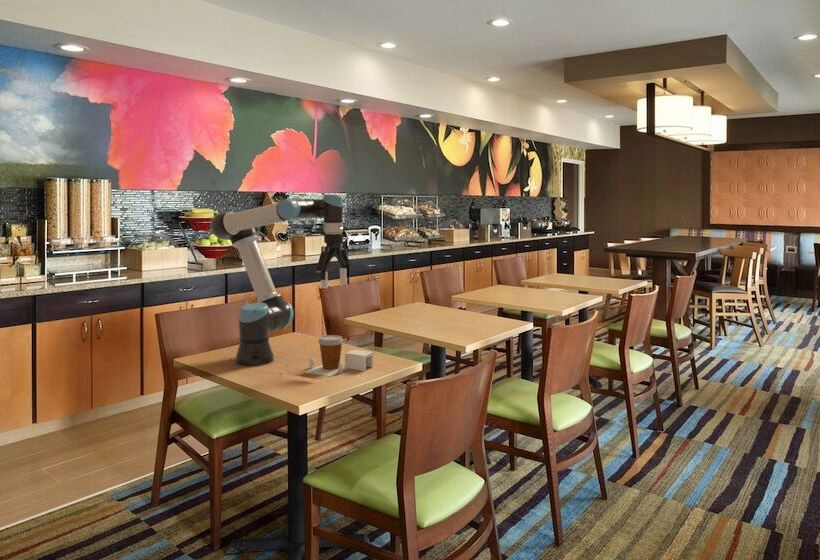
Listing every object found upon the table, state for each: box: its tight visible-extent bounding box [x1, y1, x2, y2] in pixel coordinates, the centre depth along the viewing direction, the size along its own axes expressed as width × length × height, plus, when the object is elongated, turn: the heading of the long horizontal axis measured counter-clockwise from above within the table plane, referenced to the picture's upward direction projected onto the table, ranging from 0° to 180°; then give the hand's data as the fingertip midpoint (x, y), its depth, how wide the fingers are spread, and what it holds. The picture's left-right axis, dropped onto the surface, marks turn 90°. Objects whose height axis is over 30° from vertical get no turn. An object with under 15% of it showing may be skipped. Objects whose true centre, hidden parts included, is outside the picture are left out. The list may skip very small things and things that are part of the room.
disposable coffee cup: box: [317, 334, 344, 370], centre depth 245 cm, size 10×10×12 cm
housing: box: [344, 349, 374, 372], centre depth 246 cm, size 9×7×6 cm
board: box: [304, 357, 349, 377], centre depth 244 cm, size 21×19×5 cm
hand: (334, 286), depth 255 cm, fingers open, 13 cm apart
